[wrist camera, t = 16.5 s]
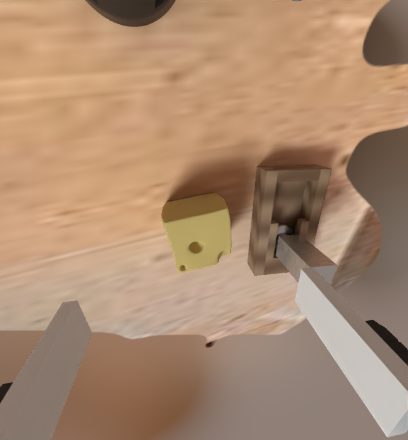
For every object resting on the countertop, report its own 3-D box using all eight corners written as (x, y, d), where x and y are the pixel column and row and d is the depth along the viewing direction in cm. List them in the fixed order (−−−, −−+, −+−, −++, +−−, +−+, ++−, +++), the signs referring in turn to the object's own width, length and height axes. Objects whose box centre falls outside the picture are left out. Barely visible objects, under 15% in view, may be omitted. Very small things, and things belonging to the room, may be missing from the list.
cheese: (223, 235, 44) (237, 262, 35) (174, 246, 43) (174, 276, 34) (217, 188, 39) (230, 206, 30) (162, 199, 39) (158, 221, 30)
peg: (266, 224, 43) (306, 263, 30) (293, 222, 44) (343, 260, 31) (263, 248, 45) (298, 294, 33) (289, 246, 46) (333, 290, 33)
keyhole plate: (257, 166, 39) (266, 170, 35) (315, 164, 40) (331, 168, 36) (247, 263, 48) (254, 275, 44) (295, 258, 49) (306, 270, 45)
